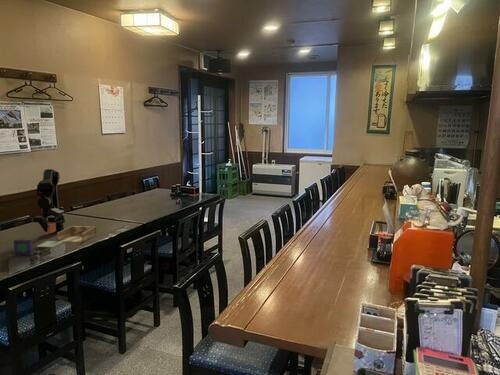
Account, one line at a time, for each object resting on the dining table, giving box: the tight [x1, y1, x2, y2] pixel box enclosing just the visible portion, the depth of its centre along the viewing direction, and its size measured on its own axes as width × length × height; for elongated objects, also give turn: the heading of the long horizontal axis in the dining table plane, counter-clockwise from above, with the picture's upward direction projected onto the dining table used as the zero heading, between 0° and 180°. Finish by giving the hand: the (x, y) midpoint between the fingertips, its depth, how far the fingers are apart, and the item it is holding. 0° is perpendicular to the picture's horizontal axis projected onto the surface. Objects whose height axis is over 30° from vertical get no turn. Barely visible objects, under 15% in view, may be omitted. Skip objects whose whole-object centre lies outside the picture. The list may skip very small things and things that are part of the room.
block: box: [41, 222, 56, 234], centre depth 205 cm, size 5×5×5 cm
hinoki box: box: [56, 225, 97, 243], centre depth 218 cm, size 16×15×6 cm
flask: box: [13, 235, 34, 257], centre depth 190 cm, size 9×3×11 cm, turn 95°
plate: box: [36, 240, 65, 248], centre depth 206 cm, size 10×10×1 cm
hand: (49, 230), depth 205 cm, fingers closed on block, 5 cm apart
